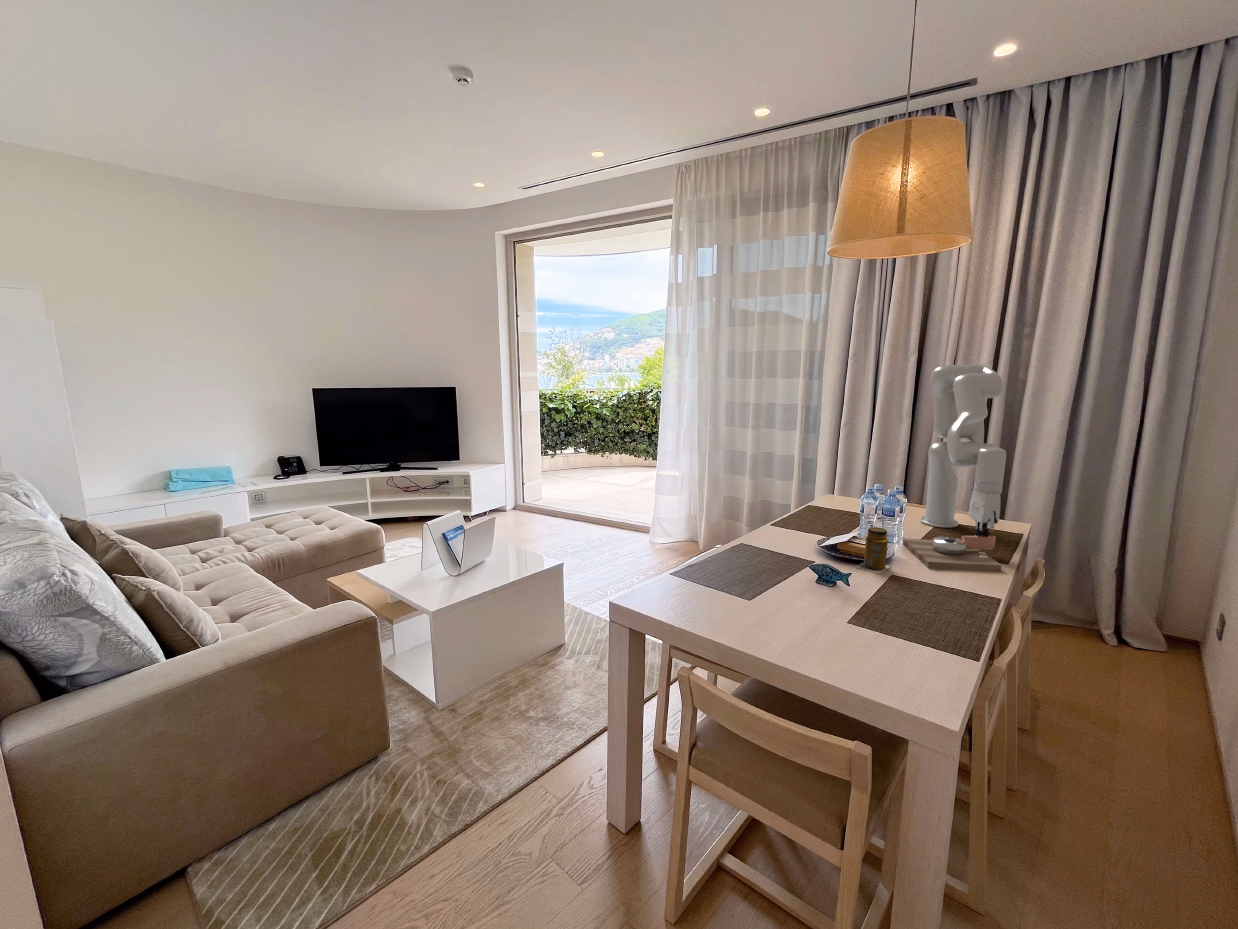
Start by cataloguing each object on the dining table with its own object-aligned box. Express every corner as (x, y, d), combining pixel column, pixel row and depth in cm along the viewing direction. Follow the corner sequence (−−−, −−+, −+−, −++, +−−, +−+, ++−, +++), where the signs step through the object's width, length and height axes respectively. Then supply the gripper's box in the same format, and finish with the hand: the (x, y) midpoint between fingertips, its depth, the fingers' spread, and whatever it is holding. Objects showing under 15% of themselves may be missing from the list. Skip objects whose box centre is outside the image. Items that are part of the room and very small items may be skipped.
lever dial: (941, 554, 166) (943, 541, 165) (927, 545, 175) (928, 532, 174) (1002, 555, 165) (1004, 541, 164) (984, 545, 173) (986, 532, 173)
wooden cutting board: (902, 544, 183) (903, 538, 182) (966, 546, 179) (967, 540, 179) (928, 568, 161) (928, 561, 161) (1001, 571, 158) (1002, 564, 158)
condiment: (890, 566, 163) (893, 529, 161) (879, 574, 158) (882, 535, 155) (866, 560, 168) (869, 524, 166) (855, 568, 163) (857, 530, 160)
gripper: (963, 481, 176) (958, 533, 180) (986, 491, 162) (980, 549, 165) (988, 481, 175) (982, 534, 178) (1014, 492, 160) (1006, 550, 164)
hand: (981, 541), depth 172 cm, fingers closed
